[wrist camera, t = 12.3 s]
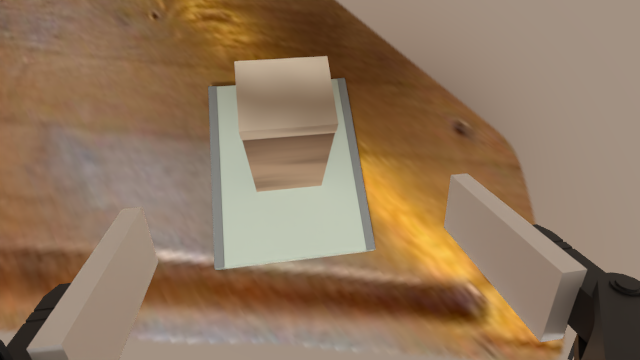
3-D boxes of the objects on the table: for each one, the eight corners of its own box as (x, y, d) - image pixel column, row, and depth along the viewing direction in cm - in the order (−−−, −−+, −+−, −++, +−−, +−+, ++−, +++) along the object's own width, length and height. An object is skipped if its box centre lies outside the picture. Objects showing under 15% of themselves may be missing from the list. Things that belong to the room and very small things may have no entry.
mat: (210, 92, 37) (208, 86, 36) (343, 83, 39) (344, 77, 38) (217, 269, 32) (214, 268, 30) (372, 250, 33) (375, 249, 32)
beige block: (252, 142, 35) (234, 61, 23) (315, 137, 35) (327, 56, 24) (256, 192, 33) (238, 131, 22) (322, 185, 34) (338, 123, 22)
